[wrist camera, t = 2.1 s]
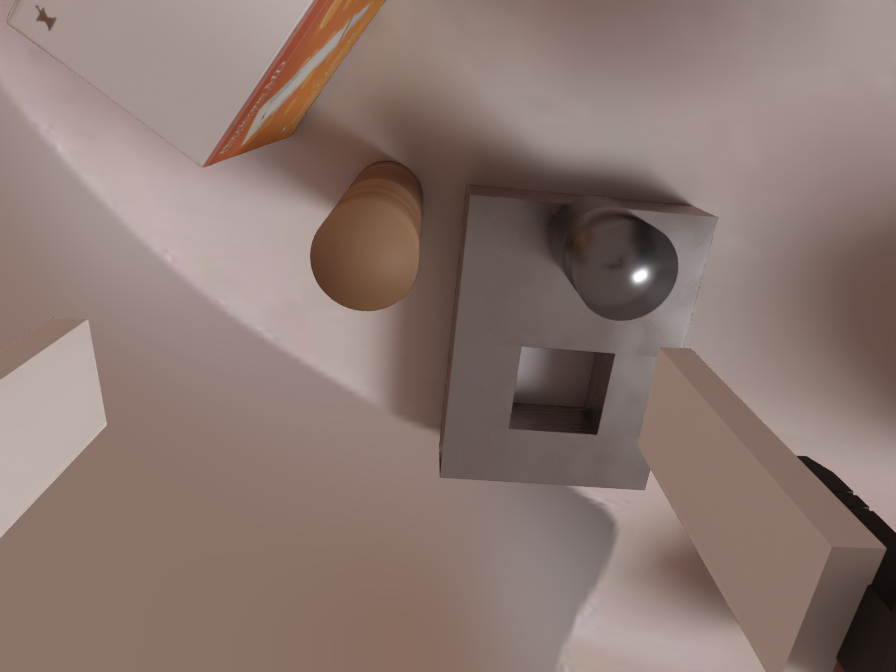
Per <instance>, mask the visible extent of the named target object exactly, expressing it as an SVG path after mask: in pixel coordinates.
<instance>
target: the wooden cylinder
mask: <svg viewBox="0 0 896 672" xmlns="http://www.w3.org/2000/svg"><path fill="white" fill-rule="evenodd" d="M422 202H423V194H422V189H421V185H420V183H419V181H418V179H417V177H416V176H415V175H414V173H413V172H412V171H411V170H409V169H408V168H407V167H405V166H404V165H401V164H399V163H396V162H391V161H382V162H377V163H374V164H372V165H370V166H368V167H367V168H366V169H364V170H363V171H362V172H361V173H360V175H359V176H358V177H357V179H356V180H355V181H354V183H353V184H352V185H351V187H350V188H349V189H348V191H347V192H346V193H345V195H344V196H343V197H342V198H341V200H340V201H339V202H338V204H337V205H336V206H335V208H334V209H333V210H332V212H331V213H330V214H329V216H328V217H327V218H326V220H325V221H324V222H323V224H322V225H321V226H320V228H319V229H318V230H317V232H316V234H315V236H314V239H313V242H312V246H311V252H310V260H311V267H312V271H313V274H314V277H315V279H316V281H317V283H318V284H319V286H320V287H321V289H322V290H323V291H324V292H325V293H326V294H327V295H328V296H329V297H330V298H331V299H333V300H334V301H335V302H337V303H339V304H341V305H342V306H345V307H347V308H350V309H354V310H360V311H375V310H380V309H384V308H386V307H389V306H391V305H393V304H395V303H396V302H398V301H399V300H400V299H402V298H403V297H404V296H405V295H406V294H407V292H408V291H409V290H410V288H411V287H412V285H413V283H414V281H415V279H416V276H417V272H418V266H419V251H420V234H421V218H422Z"/></svg>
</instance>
